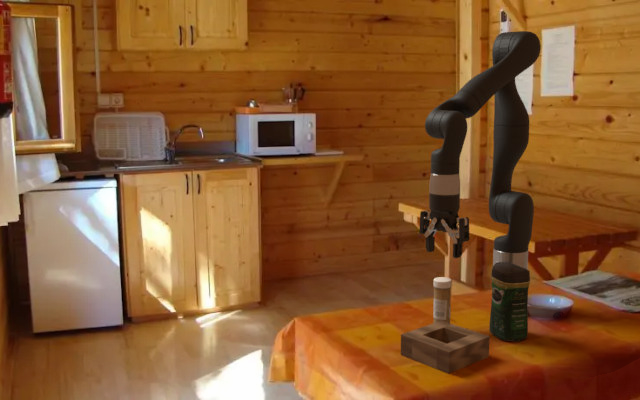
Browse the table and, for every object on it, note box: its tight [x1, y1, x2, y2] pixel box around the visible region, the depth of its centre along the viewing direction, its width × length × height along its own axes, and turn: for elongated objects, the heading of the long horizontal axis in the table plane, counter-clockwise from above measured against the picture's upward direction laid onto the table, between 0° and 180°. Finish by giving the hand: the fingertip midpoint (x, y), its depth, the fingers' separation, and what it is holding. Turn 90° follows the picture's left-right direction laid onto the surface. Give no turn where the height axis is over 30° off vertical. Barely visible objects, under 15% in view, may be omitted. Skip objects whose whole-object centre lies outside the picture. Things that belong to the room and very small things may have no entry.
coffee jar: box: [488, 262, 531, 342], centre depth 180 cm, size 10×8×19 cm
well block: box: [400, 321, 491, 375], centre depth 169 cm, size 14×14×5 cm
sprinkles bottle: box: [432, 276, 453, 324], centre depth 186 cm, size 5×5×13 cm
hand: (443, 254), depth 183 cm, fingers open, 8 cm apart
